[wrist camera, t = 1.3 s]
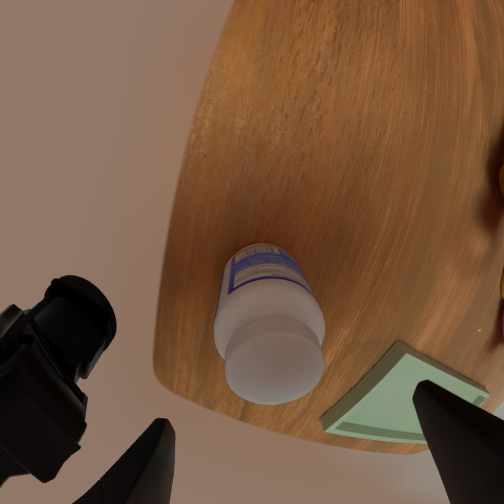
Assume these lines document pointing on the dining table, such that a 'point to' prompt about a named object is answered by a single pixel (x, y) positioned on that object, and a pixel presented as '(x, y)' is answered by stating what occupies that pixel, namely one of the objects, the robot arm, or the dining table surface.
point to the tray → (395, 398)
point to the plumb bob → (503, 185)
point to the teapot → (503, 323)
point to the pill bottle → (268, 326)
